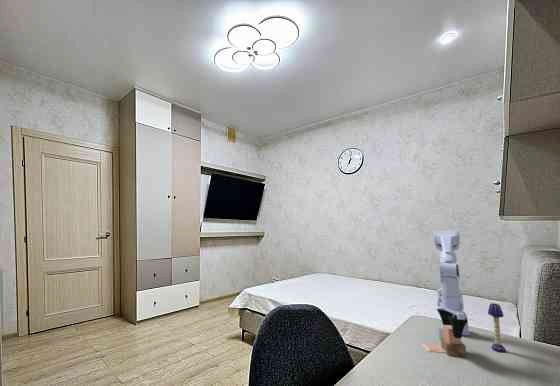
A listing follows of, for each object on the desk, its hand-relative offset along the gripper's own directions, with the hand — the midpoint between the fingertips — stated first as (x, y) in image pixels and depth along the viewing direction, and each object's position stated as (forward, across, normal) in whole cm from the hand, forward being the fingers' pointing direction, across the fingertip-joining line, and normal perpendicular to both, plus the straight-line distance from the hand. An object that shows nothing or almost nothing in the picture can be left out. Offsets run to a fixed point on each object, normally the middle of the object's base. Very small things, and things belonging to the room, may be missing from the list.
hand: (452, 333), depth 99 cm
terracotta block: (+3, 0, 0) cm, 3 cm away
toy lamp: (+7, -5, +18) cm, 20 cm away
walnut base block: (+7, 0, 0) cm, 7 cm away
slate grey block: (+7, -9, +2) cm, 11 cm away
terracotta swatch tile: (+7, -2, -6) cm, 9 cm away
